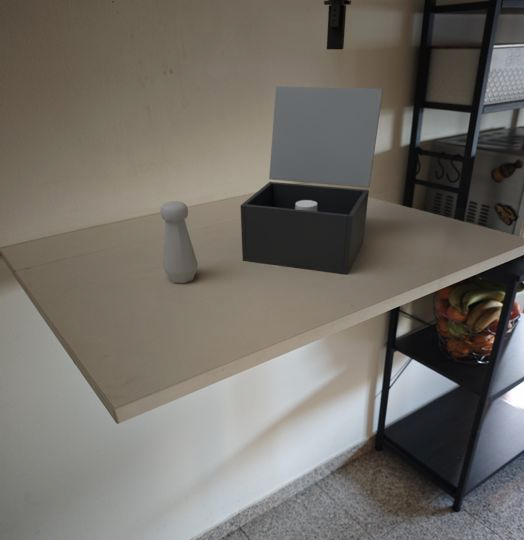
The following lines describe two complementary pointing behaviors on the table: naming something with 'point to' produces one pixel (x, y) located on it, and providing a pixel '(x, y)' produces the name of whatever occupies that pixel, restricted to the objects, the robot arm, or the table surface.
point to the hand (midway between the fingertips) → (335, 49)
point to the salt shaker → (177, 244)
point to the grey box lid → (325, 135)
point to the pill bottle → (306, 205)
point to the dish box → (304, 226)
